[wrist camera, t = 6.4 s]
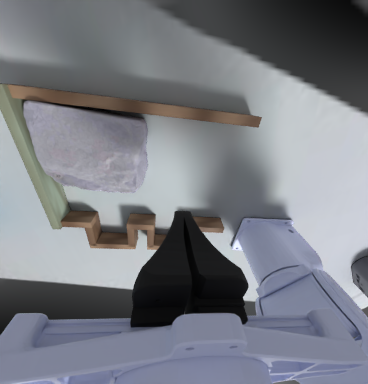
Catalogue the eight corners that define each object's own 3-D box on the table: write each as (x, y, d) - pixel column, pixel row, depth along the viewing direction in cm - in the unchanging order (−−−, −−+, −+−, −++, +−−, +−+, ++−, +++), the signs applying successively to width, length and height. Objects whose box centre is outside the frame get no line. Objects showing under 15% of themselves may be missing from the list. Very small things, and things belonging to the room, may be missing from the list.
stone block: (149, 179, 24) (151, 110, 18) (143, 201, 21) (142, 125, 14) (68, 168, 23) (37, 90, 16) (47, 190, 19) (-4, 101, 13)
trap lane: (251, 115, 18) (264, 117, 16) (213, 239, 29) (217, 253, 27) (18, 84, 16) (-12, 82, 13) (72, 235, 27) (61, 250, 24)
